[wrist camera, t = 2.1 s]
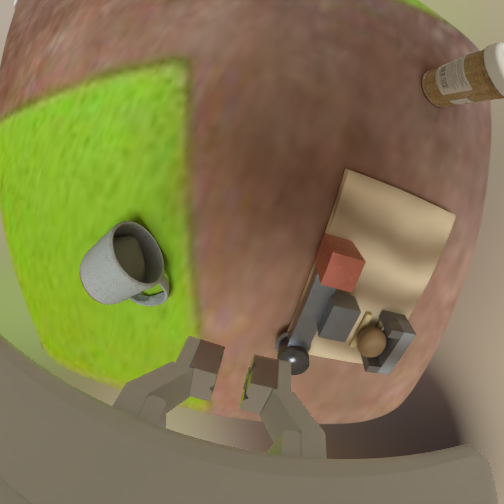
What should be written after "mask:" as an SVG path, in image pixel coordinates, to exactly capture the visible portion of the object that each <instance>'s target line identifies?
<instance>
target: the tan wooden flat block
mask: <svg viewBox="0 0 504 504" xmlns="http://www.w3.org/2000/svg"><path fill="white" fill-rule="evenodd" d="M455 217H456V215H454V214H452V213H450V212H448V211H446V210H444V209H442V208H440V207H438V206H435V205H433V204H431V203H429V202H427V201H425V200H423V199H421V198H418V197H416V196H414V195H412V194H409V193H407V192H405V191H402V190H400V189H398V188H395V187H393V186H390V185H388V184H386V183H383V182H381V181H378V180H375V179H373V178H370V177H368V176H365V175H362V174H360V173H357V172H354V171H351V170H348V169H346V168H345V171H344V175H343V178H342V181H341V185H340V188H339V191H338V194H337V197H336V200H335V204H334V207H333V210H332V213H331V216H330V219H329V222H328V225H327V228H326V231H325V233H327V234H330V235H333V236H337V237H340V238H343V239H347V240H350V241H352V242H353V243H354V245H355V246H356V248H357V249H358V251H359V252H360V254H361V255H362V257H363V258H364V260H365V261H366V263H365V265H364V267H363V270H362V272H361V274H360V277H359V279H358V281H357V283H356V286H355V288H354V290H353V292H348V291H344V290H340V289H336V292H340V293H344V294H348V295H351V296H355V298H356V300H357V303H358V305H359V308H360V310H361V314H360V316H359V317H358V319H357V321H356V323H355V325H354V327H353V329H352V331H351V332H350V334H349V336H348V338H347V339H346V341H345V342H339V341H334V340H329V339H325V338H320V337H319V336H318V330H317V332H316V334H315V336H314V338H313V340H312V342H311V344H310V346H309V348H308V354H310V355H315V356H320V357H325V358H331V359H336V360H342V361H348V362H354V363H361V364H363V365H364V368H365V372H372V373H381V374H389V373H390V372H391V371H392V369H393V368H394V367H395V365H396V364H397V362H398V361H399V360H400V358H401V357H402V355H403V354H404V352H405V351H406V349H407V348H408V346H409V345H410V343H411V342H412V340H413V339H414V337H415V336H416V334H415V332H414V330H413V328H412V326H411V325H410V323H409V321H408V319H409V317H410V315H411V314H412V312H413V310H414V308H415V306H416V305H417V303H418V301H419V299H420V297H421V295H422V293H423V291H424V289H425V287H426V285H427V283H428V281H429V279H430V277H431V275H432V273H433V271H434V269H435V267H436V264H437V262H438V260H439V258H440V255H441V253H442V251H443V248H444V246H445V244H446V241H447V239H448V236H449V234H450V231H451V228H452V226H453V223H454V220H455ZM315 266H316V264H315V262H314V264H313V267H312V270H311V272H310V275H309V278H308V280H307V283H306V286H305V288H304V291H303V293H302V296H301V298H300V301H299V303H298V306H297V308H296V311H295V313H294V316H293V318H292V321H291V323H290V326H289V328H288V330H287V332H285V333H283V334H281V335H280V336H279V337H278V338H277V339H276V342H275V349H276V351H277V352H278V345H279V342H280V341H281V340H282V339H284V338H285V337H287V336H288V334H289V331H290V329H291V326H292V324H293V322H294V319H295V317H296V314H297V312H298V310H299V307H300V305H301V302H302V300H303V297H304V295H305V292H306V289H307V287H308V284H309V282H310V279H311V277H312V274H313V271H314V269H315ZM368 327H377V328H379V329H381V330H382V331H383V332H384V334H385V336H386V340H387V341H386V347H385V349H384V350H383V352H382V353H381V354H380V355H378V356H376V357H371V358H370V357H365V356H363V355H362V354H361V353H360V352H359V351H358V349H357V345H356V342H357V338H358V335H359V334H360V333H361V331H363V330H364V329H366V328H368Z"/></svg>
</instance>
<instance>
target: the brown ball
mask: <svg viewBox="0 0 504 504" xmlns="http://www.w3.org/2000/svg"><path fill="white" fill-rule="evenodd" d="M386 341H387V340H386V336H385V334H384V332H383V331H382V330H381V329H379V328H377V327H368V328H366V329H364V330H363V331H361V333H360V334H359V335H358V338H357V342H356V345H357V349H358V351H359V352H360V353H361V354H362V355H363V356H365V357H370V358H371V357H376V356H378V355H380V354H381V353H382V352H383V350H384V349H385V347H386Z"/></svg>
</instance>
